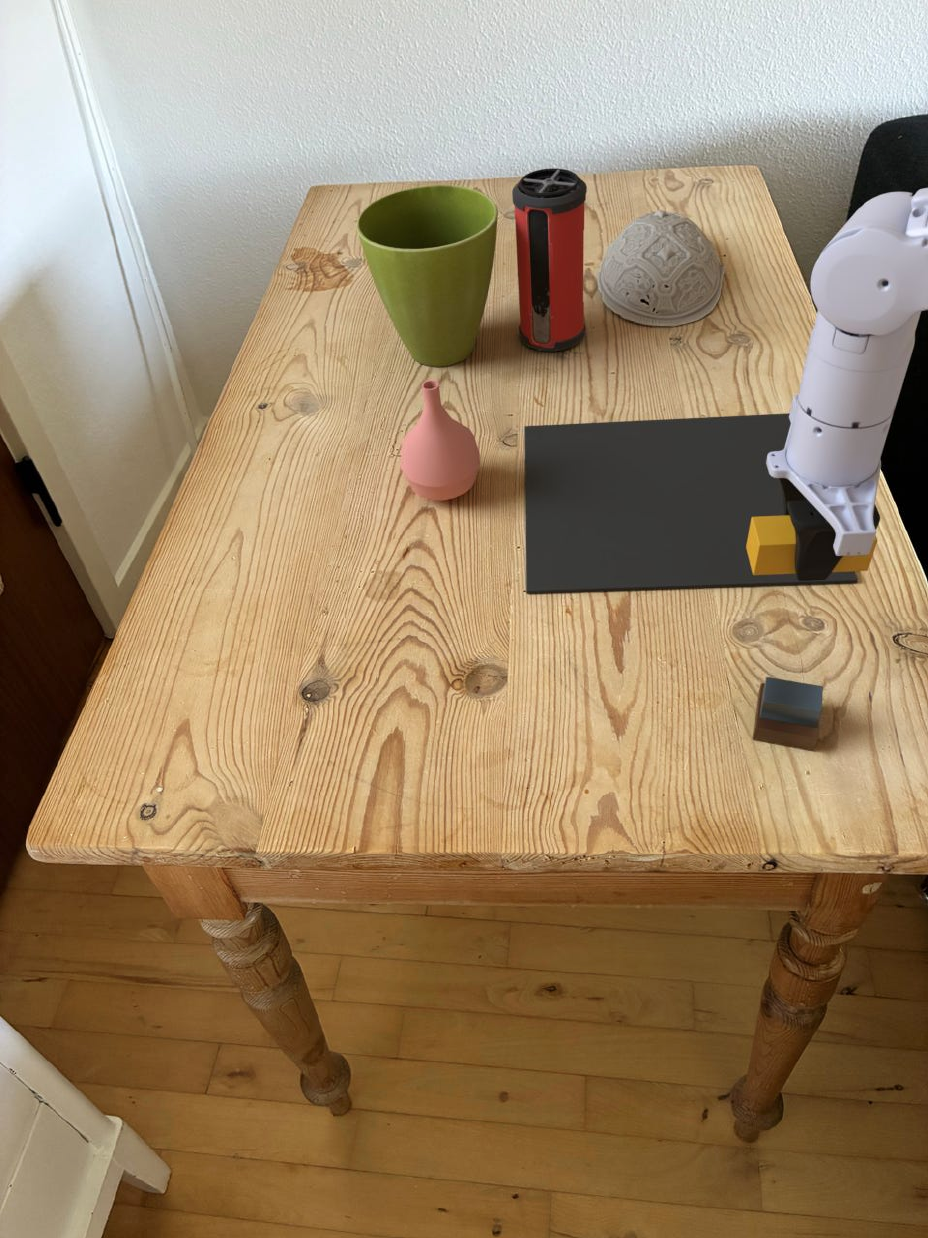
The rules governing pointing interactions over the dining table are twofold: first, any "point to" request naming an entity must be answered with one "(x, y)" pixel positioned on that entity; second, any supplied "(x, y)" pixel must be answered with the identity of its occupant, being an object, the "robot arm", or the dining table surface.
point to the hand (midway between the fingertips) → (805, 559)
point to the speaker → (550, 258)
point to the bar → (787, 548)
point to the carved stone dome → (661, 271)
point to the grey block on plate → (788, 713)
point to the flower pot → (432, 266)
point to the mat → (651, 503)
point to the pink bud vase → (439, 451)
